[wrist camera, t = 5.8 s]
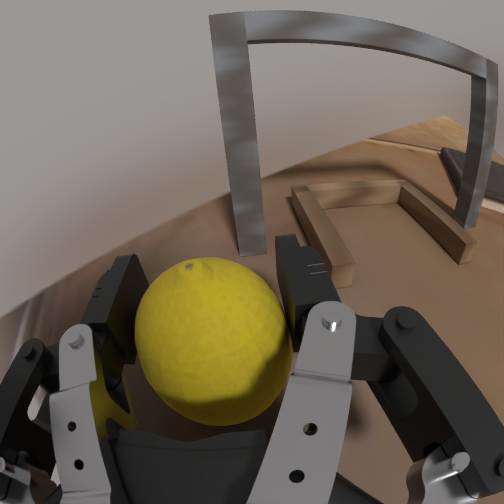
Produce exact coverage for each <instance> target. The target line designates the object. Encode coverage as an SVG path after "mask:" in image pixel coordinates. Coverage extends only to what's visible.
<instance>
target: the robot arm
mask: <svg viewBox="0 0 504 504" xmlns="http://www.w3.org/2000/svg"><path fill="white" fill-rule="evenodd" d="M275 249H276V268H277V278H278V284H279V288H280V293H281V297H282V302H283V306H284V310H285V315H286V319H287V324H288V327H289V333H290V337H291V342H292V347H293V351H294V352H299V354H298V358H297V362H296V366H295V369H294V372H293V373H292V374H291V376H290V379H289V382H288V385H287V388H286V392H285V395H284V398H283V402H282V405H281V408H280V411H279V414H278V418H277V421H276V424H275V427H274V430H273V433H272V436H271V437H266V433H265V429H263V430H254V431H242V432H228V433H223V434H219V435H215V436H212V437H208V438H204V439H200V440H196V441H192V442H182V441H178V440H175V439H171V438H168V437H165V436H161V435H158V434H155V433H152V432H145V430H144V428H143V426H142V425H141V423H140V422H139V420H138V418H137V416H136V413H135V409H134V406H133V402H132V398H131V394H130V390H129V386H128V382H127V378H126V375H125V373H124V372H123V371H122V370H123V366H124V364H135V359H136V355H137V350H136V345H135V318H136V314H137V310H138V307H139V304H140V301H141V299H142V297H143V295H144V294H145V292H146V291H147V289H148V288H149V284H148V282H147V279H146V277H145V274H144V272H143V269H142V267H141V264H140V262H139V259H138V257H137V256H136V255H135V254H131V255H124V256H118V257H116V259H115V261H114V263H113V265H112V268H111V270H107V271H106V273H105V274H104V275H103V276H102V277H101V278H100V279H99V281H98V284H97V286H96V288H95V289H96V290H94V292H93V295H92V298H91V299H90V301H89V304H88V306H87V308H86V311H85V313H84V315H83V318H82V320H81V323H80V324H78V325H75V326H72V327H71V328H69V329H68V330H67V331H66V332H65V333H64V334H63V336H62V337H61V340H60V343H59V344H55V345H52V346H49V347H46V346H45V345H44V344H43V343H42V342H41V340H39V339H37V338H34V339H30V340H28V341H27V342H25V343H24V344H23V346H22V347H21V348H20V350H19V352H18V353H17V355H16V357H15V359H14V360H13V362H12V364H11V366H10V368H9V369H8V371H7V373H6V375H5V377H4V379H3V381H2V383H1V385H0V502H2V503H3V504H383V503H382V502H380V501H379V500H377V499H375V498H374V497H372V496H371V495H369V494H368V493H366V492H365V491H363V490H362V489H360V488H359V487H357V486H356V485H354V484H353V483H351V482H350V481H349V480H347V479H346V478H344V477H343V476H342V475H340V474H339V473H338V472H337V468H338V464H339V459H340V455H341V450H342V446H343V441H344V436H345V431H346V425H347V420H348V414H349V408H350V401H351V395H352V382H351V381H350V379H351V380H366V382H367V383H368V385H369V387H370V388H371V390H372V392H373V393H374V395H375V397H376V398H377V400H378V402H379V403H380V405H381V407H382V409H383V410H384V412H385V414H386V415H387V417H388V419H389V420H390V422H391V424H392V426H393V427H394V429H395V431H396V433H397V434H398V436H399V438H400V440H401V441H402V443H403V445H404V447H405V448H406V450H407V452H408V454H409V455H410V457H411V459H412V461H413V463H414V464H413V465H412V466H411V467H410V469H409V471H408V474H407V478H406V484H407V488H408V491H409V499H408V503H407V504H474V503H475V502H476V501H477V500H478V499H480V498H483V497H486V496H490V495H493V494H496V493H499V492H501V491H503V490H504V426H503V425H502V423H501V422H500V420H499V418H498V417H497V415H496V414H495V412H494V411H493V409H492V408H491V406H490V405H489V403H488V402H487V400H486V399H485V397H484V396H483V394H482V393H481V391H480V390H479V388H478V387H477V386H476V384H475V383H474V381H473V380H472V379H471V377H470V376H469V375H468V373H467V372H466V370H465V369H464V368H463V366H462V365H461V364H460V363H459V361H458V360H457V359H456V357H455V356H454V355H453V353H452V352H451V351H450V350H449V348H448V347H447V346H446V345H445V343H444V342H443V341H442V340H441V338H440V337H439V336H438V335H437V333H436V332H435V331H434V330H433V329H432V327H431V326H430V325H429V324H428V323H427V321H426V320H425V319H424V318H423V317H422V316H421V315H420V314H419V313H418V312H417V311H415V310H414V309H411V308H409V307H403V306H399V307H394V308H392V309H390V310H389V311H387V313H386V314H385V316H384V318H376V317H364V316H359V315H356V314H354V312H353V311H352V309H351V308H349V307H348V306H347V305H345V304H343V303H342V302H341V300H340V298H339V296H338V293H337V291H336V289H335V287H334V284H333V282H332V280H331V277H330V275H329V273H328V272H327V269H326V266H325V264H324V262H323V260H322V258H321V255H320V253H319V252H318V251H316V250H315V249H314V248H313V247H311V246H302V247H300V245H299V243H298V240H297V238H296V235H295V234H290V235H281V236H275ZM38 386H40V387H42V388H43V389H44V390H45V391H46V392H47V394H46V396H45V398H44V401H43V403H42V405H41V407H40V410H39V412H38V414H37V417H36V418H35V419H34V420H32V421H31V420H30V419H29V417H28V414H27V411H28V407H29V405H30V403H31V401H32V398H33V396H34V394H35V392H36V390H37V388H38ZM55 463H57V469H58V474H59V478H60V482H61V483H60V484H59V485H58V487H57V485H56V483H55V482H54V481H51V480H50V479H51V476H52V473H53V469H54V467H55ZM50 493H51V494H50Z"/></svg>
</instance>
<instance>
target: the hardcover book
mask: <svg viewBox="0 0 504 504" xmlns="http://www.w3.org/2000/svg"><path fill="white" fill-rule="evenodd" d="M441 156H442V158H443V160H444V162H445V164H446V166H447V168H448V171H449V173H450V175H451V177H452V179H453V181H454V183H455V186H456V188H457V190H458V193H459V190H460V185H461V180H462V175H463V169H464V164H465V157H466V153H464V152H461V151H457V150H453V149H450V148H446V147H443V148H442V149H441ZM481 206H483V207H486V208H489V209H492V210H495V211H499V212H502V213H504V165H501V164H499V163H496V162H493V161H491V165H490V170H489V175H488V180H487V185H486V189H485V193H484V197H483V201H482V205H481Z"/></svg>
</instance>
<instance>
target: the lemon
mask: <svg viewBox="0 0 504 504" xmlns="http://www.w3.org/2000/svg"><path fill="white" fill-rule="evenodd" d="M135 345H136V350H137V353H138V357H139V360H140V363H141V366H142V369H143V372H144V374H145V376H146V378H147V380H148V382H149V383H150V385H151V386H152V388H153V389H154V390H155V392H156V393H157V394H158V395H159V397H160V398H161V399H162V400H163V401H164V403H166V404H167V405H168V406H169V407H171V408H172V409H173V410H175V411H176V412H178V413H179V414H181V415H182V416H184V417H185V418H187V419H190V420H193V421H196V422H199V423H202V424H205V425H215V426H228V425H234V424H239V423H243V422H245V421H247V420H250V419H252V418H254V417H256V416H258V415H259V414H261V413H262V412H263V411H264V410H266V409H267V408H268V407H269V406H271V404H272V403H273V402H274V400H275V399H276V398H277V396H278V395H279V394H280V392H281V391H282V389H283V387H284V385H285V382H286V379H287V376H288V373H289V370H290V367H291V346H292V344H291V337H290V333H289V327H288V324H287V321H286V317H285V314H284V311H283V309H282V306H281V304H280V302H279V300H278V298H277V297H276V296H275V294H274V293H273V291H272V290H271V288H270V287H269V286H268V284H267V283H266V282H265V281H264V280H263V279H262V278H261V277H260V276H258V275H257V274H256V273H255V272H253V271H252V270H251V269H249V268H247V267H245V266H243V265H241V264H238V263H236V262H234V261H230V260H226V259H221V258H214V257H202V258H194V259H190V260H186V261H183V262H181V263H178V264H176V265H174V266H172V267H171V268H169V269H168V270H166V271H164V272H163V273H162V274H161V275H160V276H159V277H158V278H156V279H155V280H154V281H153V283H152V284H151V285H150V286H149V288H148V289H147V291H146V292H145V294H144V295H143V297H142V299H141V301H140V304H139V307H138V310H137V314H136V318H135Z"/></svg>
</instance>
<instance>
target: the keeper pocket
mask: <svg viewBox="0 0 504 504" xmlns="http://www.w3.org/2000/svg"><path fill="white" fill-rule="evenodd" d="M209 23H210V31H211V40H212V49H213V57H214V66H215V74H216V82H217V90H218V98H219V106H220V114H221V122H222V129H223V137H224V144H225V152H226V159H227V167H228V174H229V182H230V189H231V196H232V204H233V211H234V218H235V225H236V232H237V239H238V246H239V253H240V257H241V256H249V255H257V254H265V253H266V240H265V227H264V215H263V203H262V191H261V179H260V168H259V156H258V146H257V134H256V124H255V114H254V103H253V93H252V83H251V73H250V63H249V55H248V45H247V44H261V43H318V44H333V45H344V46H354V47H361V48H368V49H375V50H381V51H386V52H391V53H396V54H401V55H406V56H410V57H414V58H418V59H422V60H426V61H430V62H433V63H436V64H440V65H443V66H446V67H449V68H453V69H455V70H458V71H461V72H463V73H466V74H469V75H471V80H472V81H471V85H472V86H471V111H470V124H469V134H468V143H467V150H466V157H465V164H464V169H463V175H462V180H461V185H460V190H459V194H458V199H457V203H456V207H455V211H454V215H453V218H451V217H450V216H449V215H448V214H447V213H446V212H445V211H443V210H442V209H441V208H440V207H439V206H437V205H436V204H435V203H434V202H433V201H431V200H430V199H429V198H428V197H427V196H425V195H424V194H423V193H422V192H420V191H419V190H418V189H416V188H415V187H414V186H412V185H411V184H410V183H409V182H407V181H406V180H382V181H359V182H341V183H326V184H313V185H301V186H291V188H292V206H293V208H294V210H295V212H296V214H297V217H298V219H299V221H300V223H301V225H302V227H303V230H304V232H305V234H306V236H307V238H308V241H309V243H310V245H311V247H313V248H314V249H315V250H316V251H318V252H319V253H320V255H321V258H322V260H323V262H324V264H325V266H326V269H327V272H328V273H329V275H330V277H331V280H332V282H333V284H334V287H335V289H338V288H344V287H350V286H351V285H352V279H353V274H354V268H355V260H354V259H353V257H352V255H351V254H350V252H349V250H348V249H347V247H346V245H345V244H344V242H343V240H342V239H341V237H340V236H339V234H338V232H337V231H336V229H335V228H334V226H333V224H332V223H331V221H330V220H329V218H328V217H327V215H326V213H325V212H324V210H323V209H328V208H339V207H350V206H362V205H375V204H389V203H399V204H400V205H401V206H403V207H404V208H405V209H406V210H407V211H408V212H409V213H410V214H411V215H412V216H413V217H414V218H415V219H416V220H417V221H418V222H419V223H420V224H421V225H422V226H423V227H424V228H425V229H426V230H427V231H428V232H429V233H430V234H431V235H432V236H433V237H434V238H435V239H436V240H437V241H438V242H439V243H440V244H441V246H442V247H443V248H444V249H445V250H446V251H447V252H448V253H449V254H450V255H451V257H452V258H453V259H454V260H455V261H456V262H457V263H458V265H460V264H464V263H468V262H470V260H471V258H472V255H473V253H474V250H475V247H476V244H477V241H476V240H475V239H474V238H473V237H472V236H471V235H470V234H469V233H468V232H467V231H466V230H465V229H463V228H470V227H475V226H476V222H477V219H478V216H479V212H480V209H481V205H482V201H483V197H484V193H485V189H486V185H487V180H488V175H489V170H490V165H491V159H492V153H493V146H494V138H495V130H496V120H497V106H498V64H496V63H494V62H492V61H490V60H489V59H486V58H485V57H483V56H481V55H479V54H476V53H474V52H472V51H470V50H468V49H465V48H463V47H461V46H458V45H456V44H454V43H451V42H448V41H446V40H443V39H441V38H438V37H435V36H432V35H429V34H426V33H423V32H420V31H416V30H413V29H410V28H406V27H402V26H398V25H395V24H390V23H386V22H382V21H377V20H373V19H367V18H362V17H356V16H349V15H342V14H334V13H324V12H310V11H289V10H279V11H278V10H275V11H274V10H272V11H271V10H270V11H246V12H233V13H225V14H215V15H209ZM458 223H459V224H460V225H461V226H462V227H463V228H462V227H461V226H460V225H459V224H458Z"/></svg>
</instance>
